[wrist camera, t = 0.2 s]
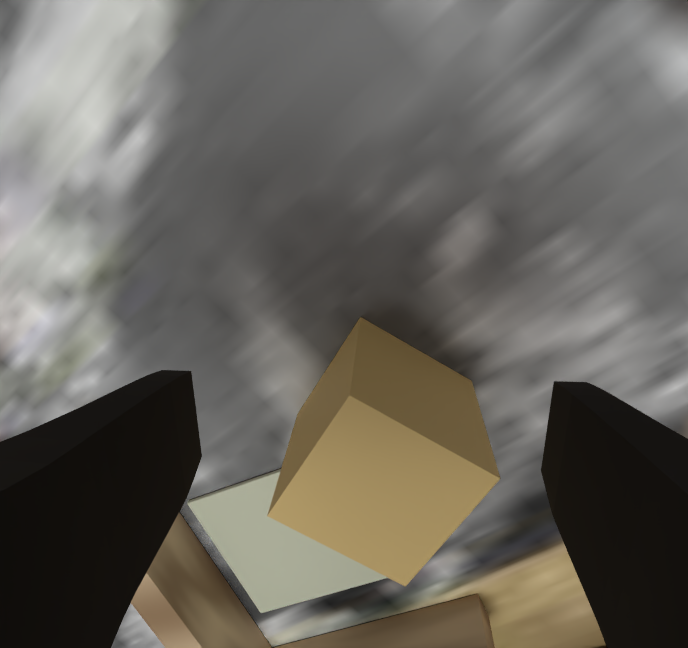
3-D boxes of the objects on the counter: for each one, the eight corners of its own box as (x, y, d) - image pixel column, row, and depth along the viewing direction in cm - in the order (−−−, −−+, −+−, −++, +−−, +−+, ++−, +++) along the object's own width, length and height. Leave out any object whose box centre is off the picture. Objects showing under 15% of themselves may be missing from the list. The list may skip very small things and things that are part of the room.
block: (471, 380, 21) (500, 478, 16) (401, 469, 23) (405, 586, 17) (360, 316, 21) (349, 395, 15) (297, 413, 22) (267, 516, 17)
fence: (488, 616, 25) (502, 691, 22) (259, 674, 28) (242, 748, 25) (339, 311, 20) (329, 350, 17) (78, 417, 23) (27, 468, 20)
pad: (395, 571, 25) (395, 575, 25) (261, 609, 26) (261, 613, 26) (330, 451, 23) (329, 454, 23) (188, 500, 24) (187, 503, 24)
